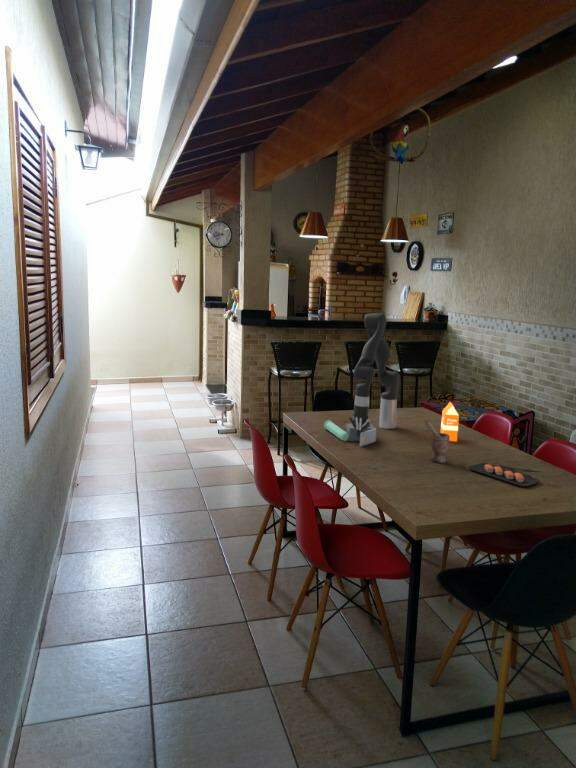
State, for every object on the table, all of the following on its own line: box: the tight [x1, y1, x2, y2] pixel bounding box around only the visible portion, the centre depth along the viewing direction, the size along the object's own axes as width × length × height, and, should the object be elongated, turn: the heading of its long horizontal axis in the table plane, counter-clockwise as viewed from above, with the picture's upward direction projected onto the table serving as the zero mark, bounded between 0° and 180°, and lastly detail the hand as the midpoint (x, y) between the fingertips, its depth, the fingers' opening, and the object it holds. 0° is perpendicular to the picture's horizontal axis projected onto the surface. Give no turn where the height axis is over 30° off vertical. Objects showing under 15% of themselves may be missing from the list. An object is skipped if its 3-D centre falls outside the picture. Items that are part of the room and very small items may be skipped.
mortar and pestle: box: [424, 418, 450, 464], centre depth 274 cm, size 12×9×20 cm
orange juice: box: [439, 401, 460, 442], centre depth 314 cm, size 8×9×20 cm
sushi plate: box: [468, 462, 541, 487], centre depth 261 cm, size 29×30×4 cm
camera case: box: [345, 422, 376, 442], centre depth 309 cm, size 14×10×8 cm
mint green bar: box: [323, 420, 349, 442], centre depth 314 cm, size 6×6×25 cm
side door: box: [359, 427, 378, 447], centre depth 299 cm, size 14×2×7 cm, turn 139°
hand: (359, 436), depth 297 cm, fingers closed
